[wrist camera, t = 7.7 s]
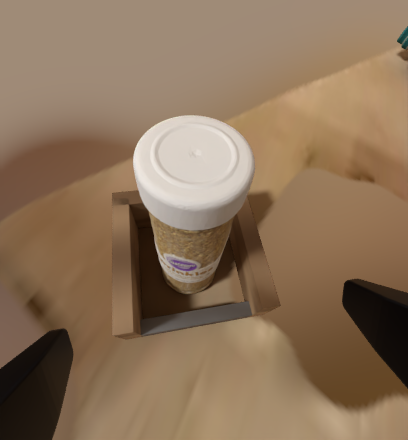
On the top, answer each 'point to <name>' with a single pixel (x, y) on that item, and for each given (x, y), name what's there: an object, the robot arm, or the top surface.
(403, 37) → the crushed plastic bottle
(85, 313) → the top surface
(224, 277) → the top surface
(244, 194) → the sprinkles bottle
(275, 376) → the top surface
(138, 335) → the cradle
